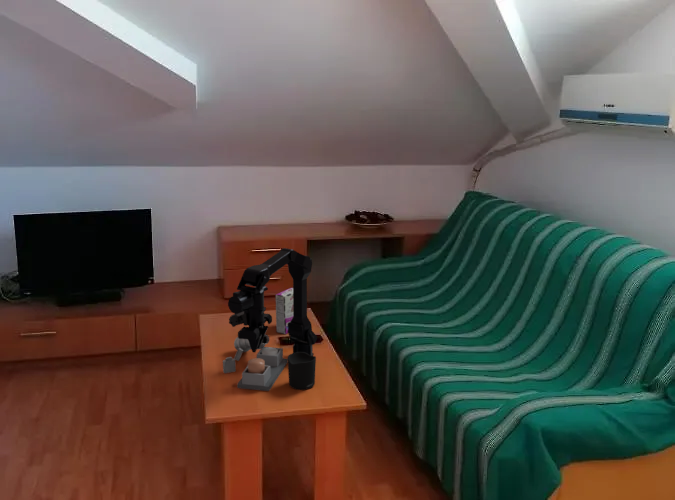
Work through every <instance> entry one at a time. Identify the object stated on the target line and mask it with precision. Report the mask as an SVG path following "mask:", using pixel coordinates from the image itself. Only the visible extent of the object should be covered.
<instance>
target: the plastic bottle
mask: <svg viewBox="0 0 675 500" xmlns="http://www.w3.org/2000/svg"><path fill="white" fill-rule="evenodd" d="M269 343H270V337H269V335H267V334H266V333H265V336H264V338H263V340H262V343H261V345H260V347H259V348H257V350H260V349H262V348H263V347H266V345H268V344H269ZM233 346H234V348H235V350H236V351H237V350H238V348H241V349H243V352H242V353H246V352H249V351H250V350H251V347H250V344H249V341H248V339H239V338H238V336H237V337H236V338H235V340H234V343H233ZM251 351H252V350H251Z"/></svg>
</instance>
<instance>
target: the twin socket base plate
mask: <svg viewBox="0 0 675 500" xmlns="http://www.w3.org/2000/svg"><path fill="white" fill-rule="evenodd" d="M264 348H274V346H273V347H270V346H264V347H263V348H262V349H259V351H258V352H257V353H256V358H260V359H263V360H264V361H265V372H264V373H263V374H256V373H248V365H246V367H245V369H243V370H242V373H241V378H240V380H239V381H238V382H237V383H236V386H237V389H243V390H253V391H254V390H255V391H256V390H257V391H263V392H264V391H266V392H270V390H271V389H272V387H273V386H274V384H275V383H276V381H277V379H278V378H279V376H281V374H282V372H283V370H284V369H285V367H286V366H287V365H288V358H284V348H283V347H275V348H276V349H277V350H278V353H277V355H276V356H275V355H264V354H262V350H263V349H264Z"/></svg>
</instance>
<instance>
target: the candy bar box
mask: <svg viewBox="0 0 675 500" xmlns="http://www.w3.org/2000/svg"><path fill="white" fill-rule="evenodd" d="M274 295H275V325H276V327H275V328H276V333H278V334H284V335H287V334H289V333H288V323H289V322H291V320H292V318H293V287H289V288H288V289H285V290H283V291H281V292H278V293H277V294H274Z"/></svg>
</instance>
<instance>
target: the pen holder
mask: <svg viewBox="0 0 675 500" xmlns="http://www.w3.org/2000/svg"><path fill="white" fill-rule="evenodd" d="M287 359H288V363H287V373H288V384H289V387H291V389H294V390H297V391H304V390H310V389H312V388H313V387H314V386H315V382H316V381H315V380H316V367H317V366H316V363H317V362H316V361H317V360H316V359H317V357H316V356H314V355H313V356H311V355H309V354H307V353H305V352H296V353H293V352H292V353H290V354H289V355H287Z"/></svg>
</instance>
